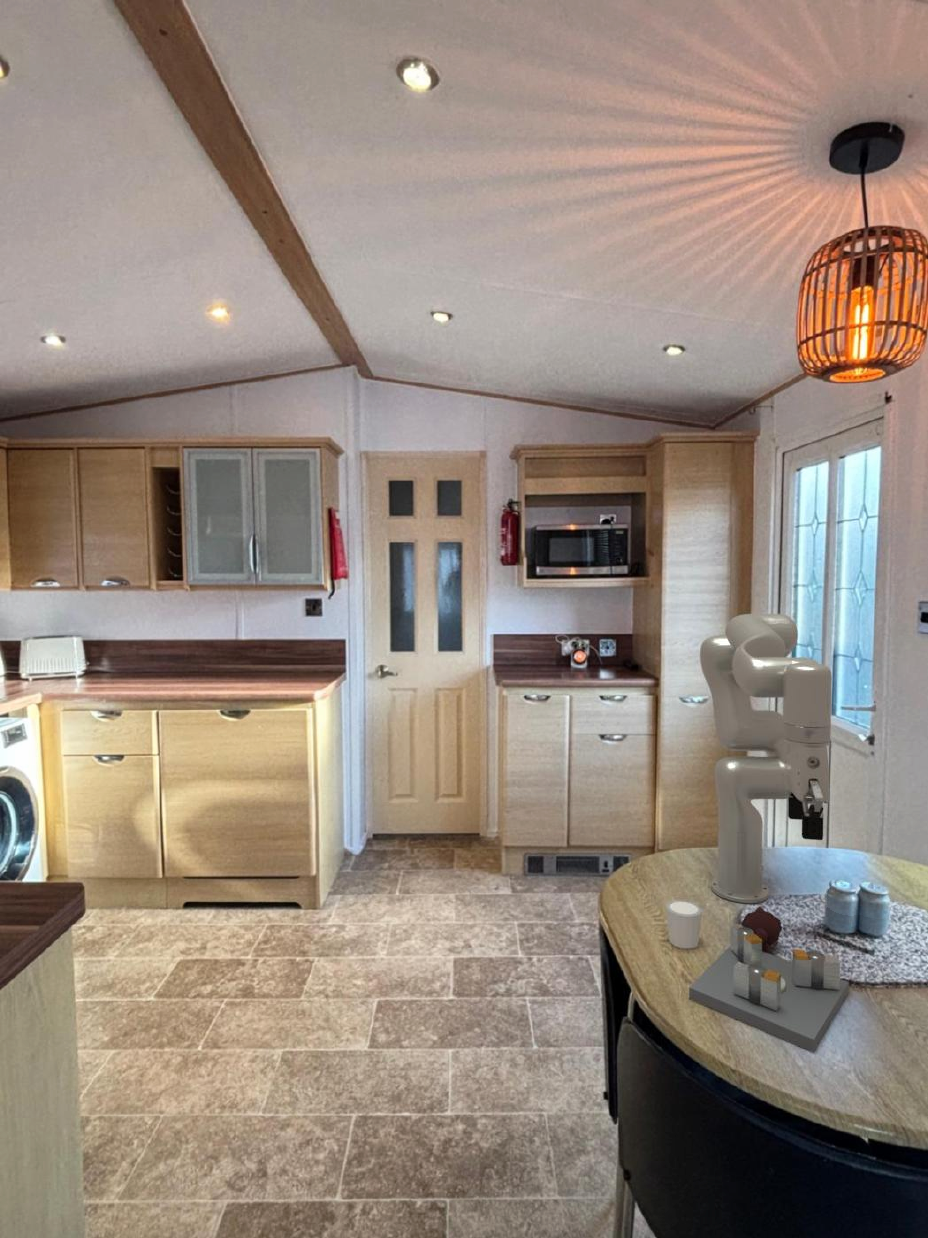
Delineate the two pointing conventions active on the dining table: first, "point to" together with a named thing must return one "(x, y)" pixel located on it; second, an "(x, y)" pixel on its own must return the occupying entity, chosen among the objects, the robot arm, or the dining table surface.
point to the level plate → (794, 1019)
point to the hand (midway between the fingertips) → (804, 828)
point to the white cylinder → (683, 923)
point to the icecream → (763, 927)
